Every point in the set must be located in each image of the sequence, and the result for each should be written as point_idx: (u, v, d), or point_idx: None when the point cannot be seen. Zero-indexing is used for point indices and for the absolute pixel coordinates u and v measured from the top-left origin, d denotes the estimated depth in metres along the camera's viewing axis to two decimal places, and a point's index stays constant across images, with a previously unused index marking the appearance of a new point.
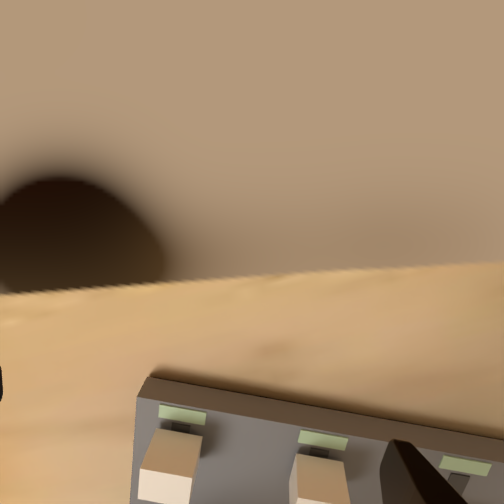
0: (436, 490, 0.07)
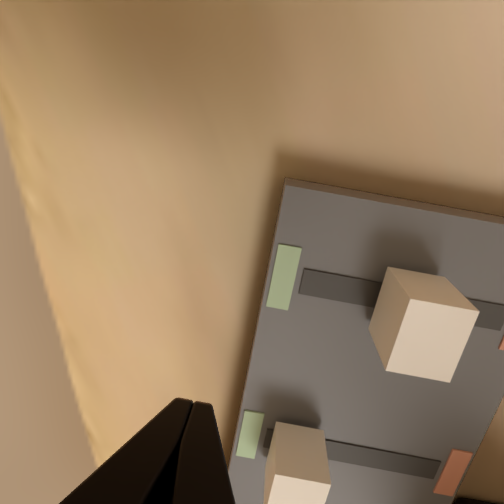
0: (198, 445, 0.07)
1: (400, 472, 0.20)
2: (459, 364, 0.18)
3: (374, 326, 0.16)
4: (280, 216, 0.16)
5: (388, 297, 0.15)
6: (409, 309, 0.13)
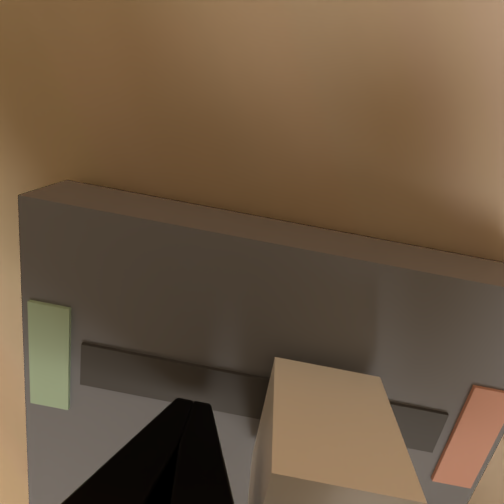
0: (197, 444, 0.07)
1: None
2: None
3: (253, 461, 0.09)
4: (22, 252, 0.09)
5: (265, 424, 0.08)
6: (271, 491, 0.06)
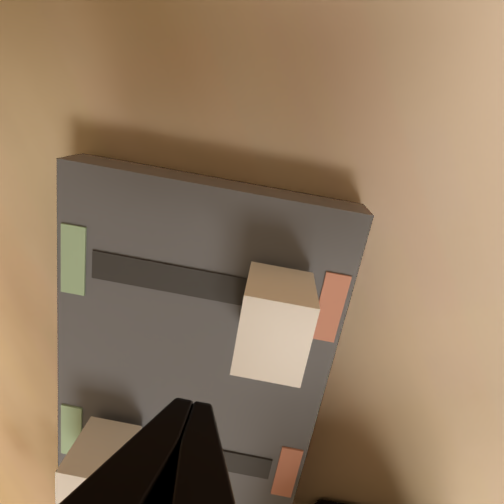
0: (197, 445, 0.07)
1: (232, 471, 0.19)
2: None
3: None
4: (58, 193, 0.15)
5: None
6: (244, 306, 0.12)
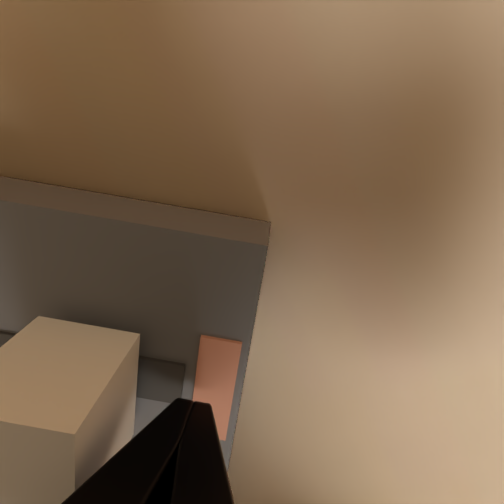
0: (197, 444, 0.07)
1: None
2: None
3: None
4: None
5: None
6: None
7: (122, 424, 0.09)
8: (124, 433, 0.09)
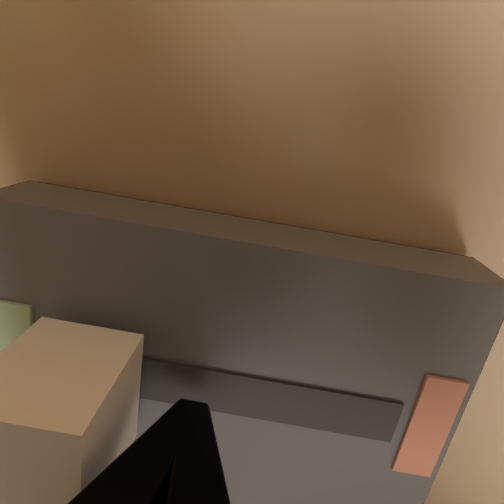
0: (193, 444, 0.07)
1: None
2: (331, 490, 0.11)
3: None
4: None
5: None
6: None
7: (126, 425, 0.09)
8: (128, 434, 0.09)
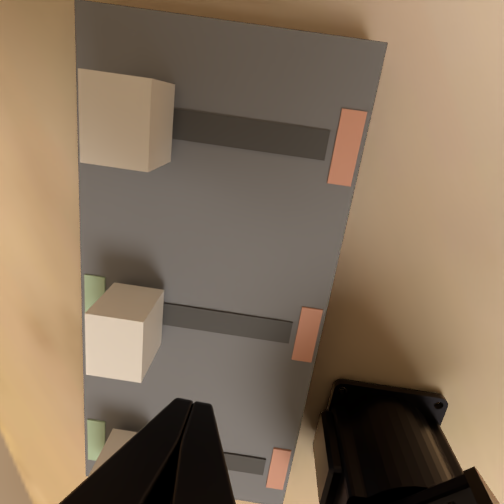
0: (198, 445, 0.07)
1: (254, 337, 0.19)
2: (291, 205, 0.17)
3: None
4: (76, 38, 0.15)
5: None
6: (80, 81, 0.13)
7: (166, 135, 0.15)
8: (167, 146, 0.15)
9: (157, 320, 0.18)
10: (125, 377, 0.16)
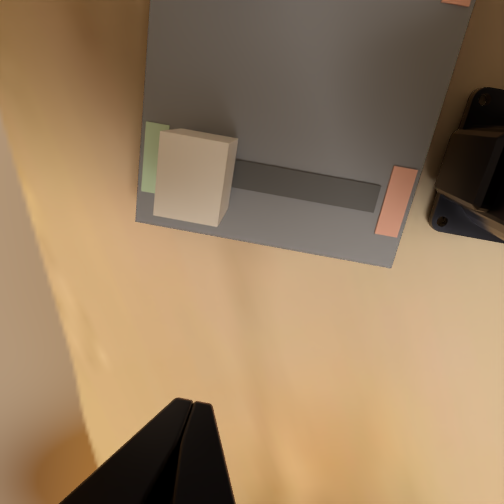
0: (198, 444, 0.07)
1: None
2: None
3: None
4: None
5: None
6: None
7: None
8: None
9: None
10: None
